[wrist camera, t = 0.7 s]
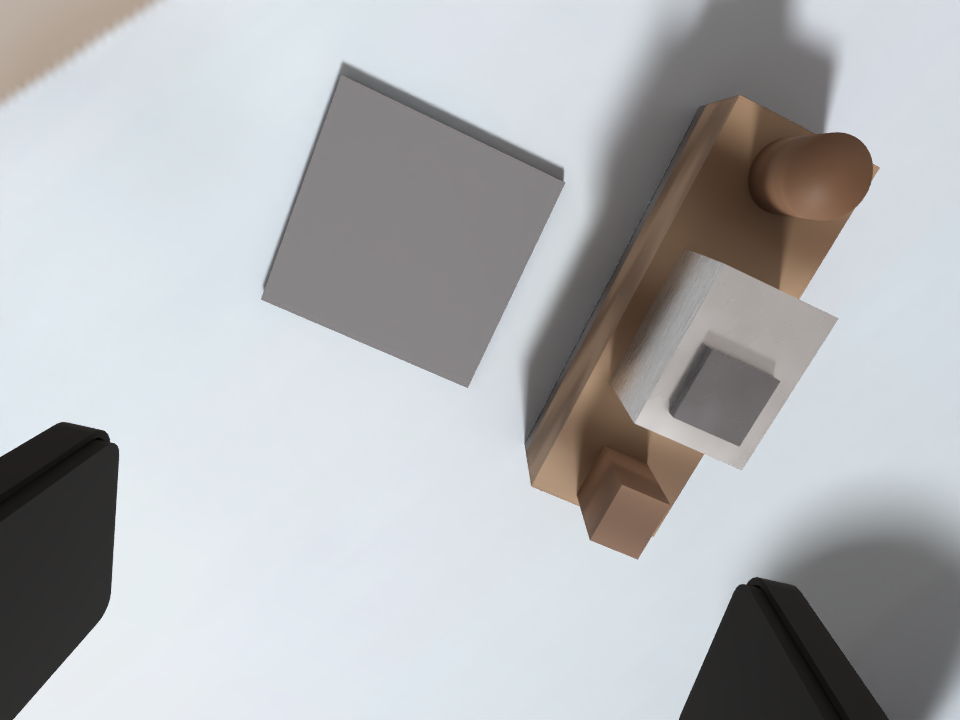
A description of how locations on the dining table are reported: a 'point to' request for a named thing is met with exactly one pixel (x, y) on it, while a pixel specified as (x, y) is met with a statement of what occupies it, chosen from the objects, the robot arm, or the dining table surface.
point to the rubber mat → (408, 234)
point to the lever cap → (717, 358)
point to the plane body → (642, 272)
